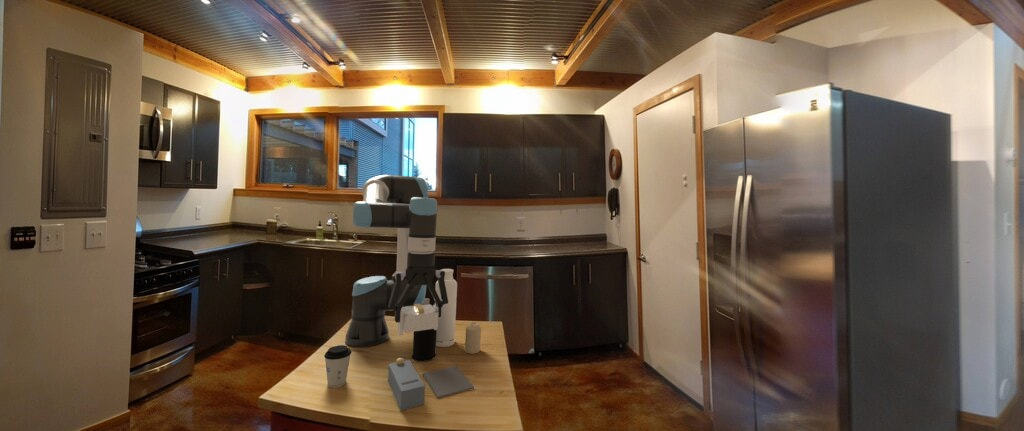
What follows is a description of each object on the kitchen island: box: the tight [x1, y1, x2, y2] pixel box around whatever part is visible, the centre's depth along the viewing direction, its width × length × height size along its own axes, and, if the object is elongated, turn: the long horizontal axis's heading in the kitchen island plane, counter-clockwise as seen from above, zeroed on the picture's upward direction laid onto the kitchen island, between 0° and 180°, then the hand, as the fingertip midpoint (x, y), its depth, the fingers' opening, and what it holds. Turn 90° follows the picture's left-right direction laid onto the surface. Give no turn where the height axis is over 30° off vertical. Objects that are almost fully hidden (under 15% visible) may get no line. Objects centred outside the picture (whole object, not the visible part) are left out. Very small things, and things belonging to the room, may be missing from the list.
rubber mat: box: [422, 365, 475, 399], centre depth 97 cm, size 14×11×1 cm
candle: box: [464, 321, 482, 355], centre depth 119 cm, size 6×6×10 cm
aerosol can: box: [411, 297, 437, 362], centre depth 112 cm, size 8×8×20 cm
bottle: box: [434, 268, 458, 348], centre depth 124 cm, size 8×8×28 cm
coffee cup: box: [323, 344, 352, 388], centre depth 93 cm, size 7×7×10 cm
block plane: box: [387, 357, 426, 412], centre depth 90 cm, size 16×6×6 cm, turn 32°
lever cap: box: [402, 303, 439, 333], centre depth 92 cm, size 8×9×6 cm
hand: (417, 330), depth 92 cm, fingers closed on lever cap, 9 cm apart
